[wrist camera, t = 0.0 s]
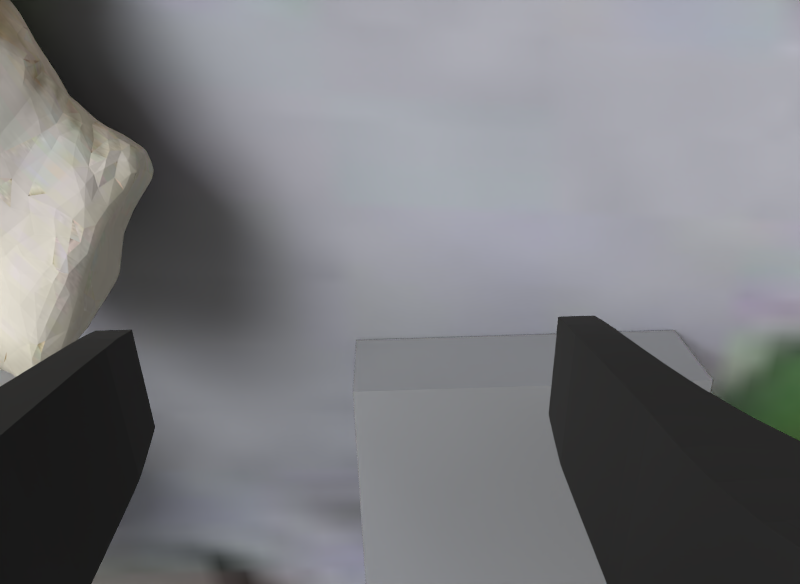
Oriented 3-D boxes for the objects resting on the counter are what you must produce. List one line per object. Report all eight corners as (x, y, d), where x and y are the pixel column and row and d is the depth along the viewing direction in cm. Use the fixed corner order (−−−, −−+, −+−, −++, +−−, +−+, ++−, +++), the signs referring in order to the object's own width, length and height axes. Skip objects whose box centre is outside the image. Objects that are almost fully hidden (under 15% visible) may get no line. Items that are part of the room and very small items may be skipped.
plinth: (624, 587, 29) (649, 652, 26) (372, 596, 29) (370, 662, 26) (674, 330, 23) (713, 380, 20) (356, 340, 23) (352, 392, 20)
